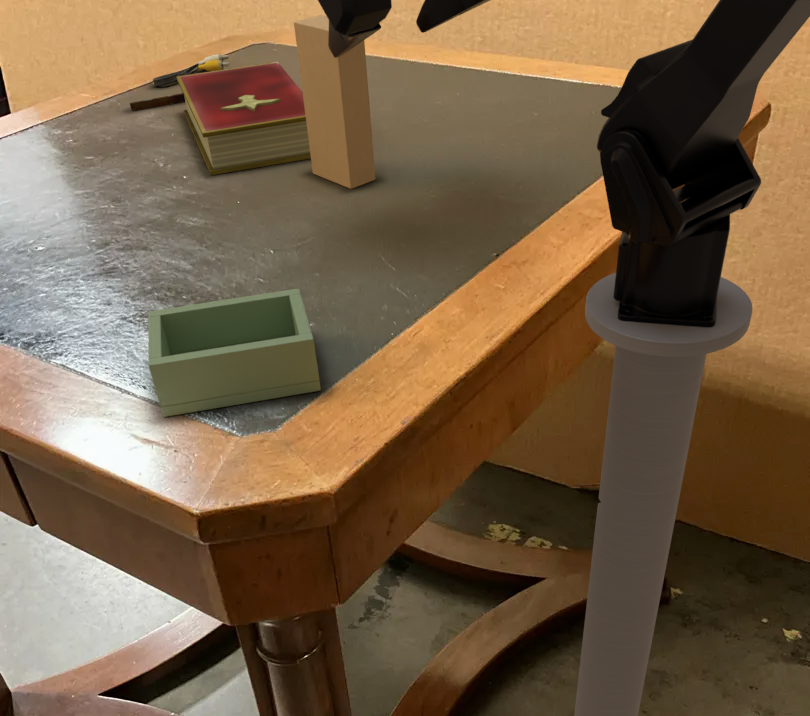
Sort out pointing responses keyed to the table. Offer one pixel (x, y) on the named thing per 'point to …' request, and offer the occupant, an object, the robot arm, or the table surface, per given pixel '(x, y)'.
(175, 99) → the dark brown stick
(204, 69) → the composite cable
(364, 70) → the tan rectangular block
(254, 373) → the holder
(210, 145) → the hardcover book
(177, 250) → the table surface
